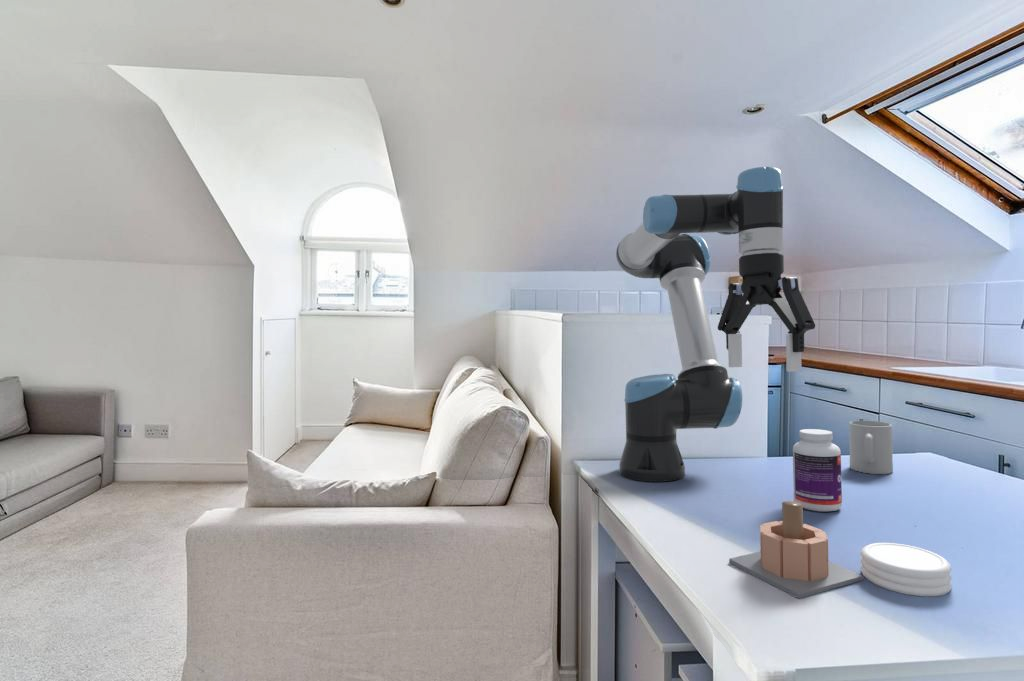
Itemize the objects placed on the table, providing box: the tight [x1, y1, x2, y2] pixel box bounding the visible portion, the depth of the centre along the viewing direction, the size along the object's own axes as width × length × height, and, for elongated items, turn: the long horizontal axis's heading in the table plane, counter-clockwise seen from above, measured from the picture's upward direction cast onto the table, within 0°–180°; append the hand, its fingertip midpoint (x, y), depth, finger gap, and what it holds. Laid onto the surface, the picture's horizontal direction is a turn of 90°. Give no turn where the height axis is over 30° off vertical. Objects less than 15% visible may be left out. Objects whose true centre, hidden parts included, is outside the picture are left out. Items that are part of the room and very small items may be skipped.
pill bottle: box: [792, 428, 843, 513], centre depth 105 cm, size 8×8×14 cm
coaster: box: [860, 542, 953, 598], centre depth 75 cm, size 10×10×4 cm
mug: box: [848, 420, 894, 475], centre depth 128 cm, size 12×8×11 cm
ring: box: [759, 520, 829, 581], centre depth 79 cm, size 8×8×5 cm
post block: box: [728, 500, 864, 599], centre depth 78 cm, size 12×12×10 cm
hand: (762, 369), depth 103 cm, fingers open, 13 cm apart
